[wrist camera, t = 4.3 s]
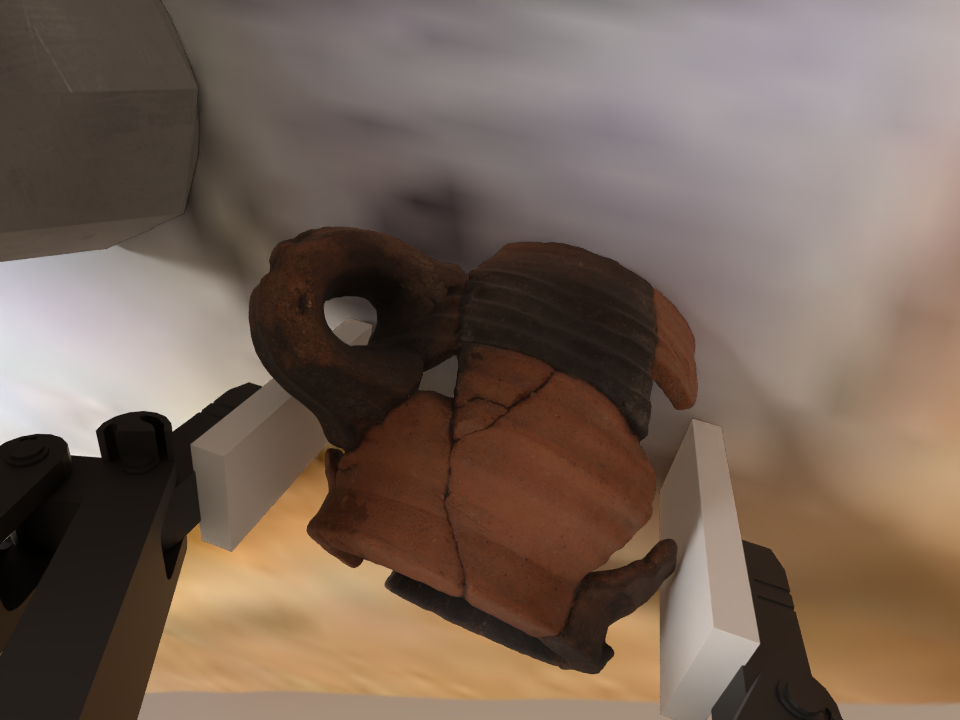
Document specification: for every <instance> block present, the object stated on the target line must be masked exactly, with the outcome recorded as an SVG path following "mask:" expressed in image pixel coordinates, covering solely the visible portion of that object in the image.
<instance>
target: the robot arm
mask: <svg viewBox="0 0 960 720" xmlns="http://www.w3.org/2000/svg"><path fill="white" fill-rule="evenodd" d="M332 332H333V333H334V334H335V335H336V336H337V337H338V338H339V339H340V340H342V341H343V342H345V343H346V344H348V345H350V346H354V345H367V344H368V341H369V338H370V336H371V333H372V325H371V324H368V323H364V322H361V321H357V320H354V319H350V318H348V319H347V320H346V321H344V322H343V323H342V324H341V325H339V326H338V327H337V328H336V329H334V330H333V331H332ZM96 434H97V438H98V443H99V447H100V452H101V456H102V458H98V457H85V456H72V455H70V452H69V448H68V444H67V443H66V442H65V441H64V440H63V439H62V438H61V437H58V436H54V435H51V434H34V435H28V436H22V437H19V438H16V439H13V440H10V441H8V442H5V443H4V444H2V445H0V654H1V655H0V720H137V718H138V715H139V711H140V708H141V705H142V701H143V698H144V694H145V691H146V687H147V684H148V681H149V677H150V674H151V670H152V667H153V663H154V660H155V657H156V653H157V650H158V646H159V643H160V639H161V636H162V633H163V629H164V626H165V622H166V619H167V615H168V612H169V609H170V605H171V602H172V598H173V595H174V591H175V588H176V585H177V581H178V578H179V574H180V571H181V567H182V564H183V561H184V557H185V554H186V550H187V534H188V533H189V532H190V531H191V530H192V529H193V528H194V527H195V526H196V525H197V524H198V523H199V522H200V530H201V539H202V541H205V542H207V543H210V544H213V545H215V546H218V547H221V548H223V549H226V550H228V551H231V552H232V551H233V550H234V549H235V548H236V546H237V545H238V544H239V543H240V542H241V541H242V540H243V538H244V537H245V536H246V535H247V534H248V533H249V532H250V531H251V529H252V528H253V527H254V526H255V525H256V524H257V523H258V522H259V520H260V519H261V518H262V517H263V516H264V515H265V514H266V513H267V511H268V510H269V509H270V508H271V507H272V506H273V505H274V504H275V502H276V501H277V500H278V499H279V498H280V497H281V496H282V494H283V493H284V492H285V491H286V490H287V489H288V488H289V487H290V485H291V484H292V483H293V482H294V481H295V480H296V479H297V478H298V476H299V475H300V474H301V473H302V472H303V471H304V470H305V469H306V467H307V466H308V465H309V464H310V463H311V462H312V461H313V459H314V458H315V457H316V456H317V455H318V454H319V453H320V452H321V450H322V449H323V448H324V447H325V446H326V445H327V444H328V443H329V442H328V440H327V439H326V437H325V435H324V433H323V430H322V427H321V425H320V423H319V421H318V419H317V418H316V416H315V415H314V414H313V413H312V412H311V411H310V410H309V409H308V408H306V407H305V406H304V405H303V404H302V403H300V402H299V401H298V400H297V399H295V398H294V397H293V396H291V395H290V394H289V393H287V392H286V391H285V390H284V389H283V388H282V387H281V386H280V385H279V384H278V383H277V382H276V381H275V379H274V378H273V379H272V380H271V381H269V382H268V383H267V384H266V385H264V386H263V387H262V386H259V385H256V384H253V383H246V384H244V385H241V386H238V387H236V388H233V389H230V390H228V391H227V392H226V393H224V394H223V395H222V396H220V397H219V398H218V399H216V400H215V401H214V403H211V404H209V405H208V406H207V407H205V408H204V409H203V410H202V412H201V413H200V412H199V413H197V414H196V415H195V416H193V417H192V418H191V419H189V420H188V421H187V422H185V423H184V424H183V425H181V426H180V427H179V428H177V429H176V430H174V431H173V432H172V425H171V423H170V421H169V420H168V419H167V417H165V416H163V415H161V414H158V413H155V412H147V411H140V412H129V413H126V414H122V415H119V416H115V417H113V418H112V419H110V420H108V421H106V422H104V423H103V424H102V425H101V426H100V427H99V428H98V429H97V430H96ZM9 535H10V536H9ZM8 536H9V537H8ZM7 537H8V538H7ZM6 538H7V539H6ZM5 539H6V540H5ZM664 539H673V540H674V541H675V542H676V544H677V547H678V551H677V559H676V567H675V570H674V572H673V573H672V574H671V575H670V576H669V577H668V578H667V579H665V580H664V581H663V583H662V584H661V586H660V714H661V715H663V716H666V717H669V718H671V719H674V720H707V719H708V717H709V716H710V715H711V713H712V720H843V719H842V717H841V714H840V712H839V709H838V707H837V704H836V702H835V701H834V700H833V698H832V697H831V695H830V694H829V693H828V691H827V690H826V689H825V688H824V687H823V686H822V685H821V684H820V683H819V682H818V681H817V680H816V679H815V678H813V677H812V674H811V670H810V666H809V663H808V659H807V655H806V651H805V647H804V643H803V639H802V635H801V631H800V627H799V624H798V620H797V616H796V612H794V604H793V600H792V596H791V595H790V594H789V592H790V588H789V585H788V581H787V577H786V573H785V570H784V568H783V567H782V565H781V564H780V562H779V561H778V559H777V558H776V556H775V555H774V553H773V552H772V550H771V549H769V548H765V547H762V546H759V545H756V544H753V543H750V542H747V541H744V540H741V534H740V529H739V523H738V518H737V512H736V507H735V501H734V496H733V490H732V484H731V479H730V473H729V468H728V462H727V457H726V451H725V446H724V440H723V435H722V429H721V427H720V426H716V425H713V424H709V423H706V422H703V421H699V420H696V419H692V421H691V423H690V425H689V427H688V430H687V432H686V434H685V436H684V439H683V441H682V443H681V445H680V448H679V450H678V452H677V454H676V457H675V459H674V461H673V463H672V465H671V468H670V470H669V472H668V474H667V477H666V479H665V481H664V483H663V486H662V488H661V490H660V492H659V541H661V540H664ZM4 540H5V541H4ZM3 541H4V542H3ZM2 651H3V652H2ZM1 652H2V653H1Z"/></svg>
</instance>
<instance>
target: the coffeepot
mask: <svg viewBox="0 0 960 720" xmlns="http://www.w3.org/2000/svg"><path fill="white" fill-rule="evenodd" d="M197 95H198V87H197V84H196V81H195V79H194V76H193V73H192V70H191V67H190V64H189V62H188V59H187V56H186V53H185V51H184V48H183V46H182V44H181V41H180V39H179V37H178V34H177V32H176V29H175V27H174V25H173V22H172V20H171V18H170V15H169V14H168V12H167V10H166V9H165V7H164V5H163V3H162V2H161V0H0V262H4V261H12V260H20V259H28V258H36V257H44V256H52V255H60V254H68V253H76V252H84V251H92V250H100V249H107V248H109V247H111V246H114V245H116V244H118V243H120V242H122V241H125V240H127V239H129V238H131V237H134V236H136V235H138V234H141V233H143V232H145V231H148V230H150V229H152V228H154V227H155V226H157V225H159V224H162V223H164V222H166V221H168V220H170V219H173V218H175V217H177V216H179V215H181V214H183V213H184V210H185V206H186V203H187V199H188V195H189V191H190V187H191V183H192V179H193V175H194V170H195V166H196V162H197V157H198V149H199V116H198V108H197Z"/></svg>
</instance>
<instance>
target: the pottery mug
mask: <svg viewBox="0 0 960 720" xmlns="http://www.w3.org/2000/svg"><path fill="white" fill-rule="evenodd" d="M269 262H270V272H269V273H268V274H266V275H265V276H264V277H263V278H262V279H261V281H260V283H259V285H257V286H256V287H255V288H254V289H253V291H252V293H251V296H250V302H249V323H250V331H251V337H252V341H253V345H254V347H255V351H256V353H257V355H258V357H259V359H260V360H261V362H262V364H263V366H264V367H265V368H266V370H267V371H268V372H269V374H270V375H271V376H272V377H273V378H274V379H275V381H276V382H277V383H278V384H279V385H280V386H281V387H282V388H283V389H284V390H285V391H286V392H287V393H289V394H290V395H291V396H293V397H294V398H295V399H297V400H298V401H299V402H300V403H302V404H303V405H304V406H305V407H306V408H308V409H309V410H310V411H311V412H312V413H313V414H314V415H315V416H316V418H317V419H318V421H319V423H320V425H321V427H322V430H323V433H324V435H325V437H326V439H327V440H328V442H329V443H331V444H332V445H335V446H336V447H339V448H343V449H344V450H345V454H343V453H342V451H340V450H339V449H335V448H329V449H327V451H326V453H325V469H326V470H325V473H326V477H327V480H328V486H329V493H328V495H327V497H326V499H325V500H324V502H323V504H322V506H321V508H320V510H319V511H318V513H317V514H316V515H315V516H314V517H313V518H312V520H311V521H310V522H309V524H308V526H307V533H308V535H309V536H310V537H311V538H312V539H313V540H315V541H316V542H317V543H318V544H320V545H321V546H322V548H323V549H324V550H326V551H327V552H328V553H330V554H331V555H333V556H335V557H337V558H338V559H339V560H340V561H342V562H343V563H344V564H346V565H348V566H349V567H352V568H356V567H358V566H359V565H360V564H361V563H362V561H363V560H364V559H365V560H368V561H371V562H373V563H375V564H379V565H382V566H384V567H387V568H389V569H392V570H393V571H392V573H391V575H390V576H389V577H388V578H387V580H386V582H385V587H386V588H387V589H388V590H390V591H391V592H392V593H394V594H397V595H398V596H400V597H402V598H403V599H405V600H407V601H409V602H411V603H413V604H416V605H417V606H419V607H421V608H423V609H425V610H428V611H431V612H434V613H435V614H437V615H439V616H441V617H442V618H443V619H445V620H447V621H449V622H451V623H453V624H456V625H459V626H461V627H463V628H465V629H467V630H469V631H471V632H473V633H476V634H478V635H481V636H484V637H486V638H488V639H490V640H492V641H494V642H496V643H499V644H502V645H504V646H506V647H508V648H510V649H512V650H515V651H518V652H519V653H521V654H525V655H528V656H530V657H532V658H534V659H538V660H540V661H543V662H546V663H548V664H551V665H554V666H559V667H560V668H561V669H563V670H569V669H572V670H576V671H580V672H583V673H588V674H597V673H599V672H600V671H601V670H602V669H603V668H604V666H605V665H606V663H607V662H608V661H609V660H610V659H611V658H612V657H613V656H614V651H613V649H612V647H611V646H609V645H608V644H607V643H606V642H605V638H606V634H607V630H608V626H610V625H611V624H612V623H614V622H616V621H617V620H619V619H621V618H623V617H625V616H627V615H629V614H631V613H633V612H634V611H635V610H636V609H637V608H638V607H640V606H641V605H643V604H644V603H645V602H647V601H648V600H649V599H650V598H651V596H652V595H653V594H654V593H655V592H656V591H657V590H658V588H659V587H660V586H661V584H662V583H663V581H664V580H665V579H667V578H668V577H669V576H670V575H671V574H672V573H673V572H674V570H675V567H676V559H677V551H678V547H677V544H676V542H675V541H674V540H673V539H664V540H661V541H659V542H658V543H657V544H656V545H655V546H654V547H653V548H652V549H651V550H650V552H649V553H648V554H647V555H646V556H645V557H644V558H643V559H642V560H636V561H634V562H632V563H630V564H628V565H627V566H624V567H622V568H618V569H613V570H607V571H596V572H591V571H593V570H595V569H597V568H598V567H599V566H601V565H603V564H605V563H606V562H607V561H608V559H609V558H610V556H611V555H612V554H613V553H614V552H615V551H617V550H619V549H621V548H623V547H624V545H625V544H626V543H627V542H628V541H630V540H631V538H632V537H633V536H634V534H635V533H636V532H637V531H638V530H639V529H640V528H642V527H643V526H644V525H645V524H646V523H647V522H648V520H649V519H650V517H651V515H652V511H653V508H652V503H653V499H654V495H655V491H656V474H655V471H654V469H653V467H652V465H651V463H650V461H649V460H648V458H647V456H646V454H645V452H644V451H643V450H642V448H641V447H640V444H639V443H640V441H641V440H642V439H644V438H645V437H646V436H647V435H648V424H649V419H650V414H651V402H650V393H651V389H652V383H653V382H652V380H654V381H655V382H656V383H657V385H658V386H659V387H660V388H661V389H662V390H663V391H664V393H665V394H666V396H667V397H668V398H669V400H670V401H671V403H672V404H673V406H674V408H675V409H677V410H685V409H689V408H691V407H692V406H694V404H695V401H696V397H697V389H698V386H697V373H696V363H695V360H694V352H695V339H694V336H693V334H692V332H691V330H690V328H689V326H688V324H687V322H686V320H685V319H684V318H683V316H682V315H681V314H680V313H679V311H678V310H677V308H676V307H675V306H674V305H673V304H672V303H671V302H670V301H669V300H667V299H666V298H665V297H664V296H663V295H662V294H661V293H660V292H659V291H657V290H656V289H654V288H653V287H652V286H651V285H650V284H649V283H648V282H647V281H646V280H645V279H643V278H641V277H640V276H639V275H637V274H635V273H633V272H632V271H630V270H628V269H626V268H624V267H623V266H621V265H620V264H619V263H618V262H616V261H614V260H612V259H609V258H606V257H603V256H599V255H597V254H594V253H592V252H589V251H587V250H585V249H583V248H580V247H574V246H571V245H567V244H563V243H554V242H551V243H541V242H520V243H511V244H507V245H505V246H504V247H503V248H502V249H501V250H500V251H499V252H498V253H497V254H496V255H494V257H493V258H491V259H489V260H487V261H485V262H483V263H482V264H481V265H480V266H479V267H478V268H477V269H475V270H472V271H471V272H469V273H468V274H465V273H464V272H463V270H462V269H461V268H460V267H459V266H458V265H455V264H450V263H440V262H438V261H436V260H434V259H432V258H430V257H428V256H427V255H426V254H424V253H423V252H421V251H419V250H417V249H416V248H414V247H412V246H410V245H409V244H407V243H405V242H403V241H401V240H399V239H396V238H394V237H391V236H389V235H386V234H383V233H378V232H374V231H369V230H361V229H357V228H351V227H322V228H320V229H311V230H308V231H306V232H303V233H301V234H299V235H298V236H297V237H295V238H293V239H289V240H285V241H282V242H280V243H278V245H277V246H276V247H275V248H274V249H273V251H272V253H271V256H270V260H269ZM343 296H358V297H363V298H365V299H367V300H368V301H369V302H370V303H371V304H372V305H373V306H374V308H375V309H376V312H377V325H376V329H375V331H374V332H373V333H372V334H371V336H370V338H369V341H368V344H367V345H354V346H350V345H348V344H346V343H345V342H343V341H342V340H340V339H339V338H338V337H337V336H336V335H335V334H334V333H333V332H332V330H331V329H330V328H329V326H328V324H327V322H326V320H325V315H324V303H325V301H327V300H330V299H332V298H336V297H343ZM454 355H457V359H458V371H457V380H456V386H455V389H454V398H451V397H446V396H444V395H442V394H439V393H437V392H434V391H419V390H418V388H419V384H420V382H421V379H422V375H423V372H425V371H427V370H429V369H431V368H433V367H435V366H437V365H438V364H440V363H442V362H443V361H445V360H446V359H448V358H451V357H452V356H454Z"/></svg>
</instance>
